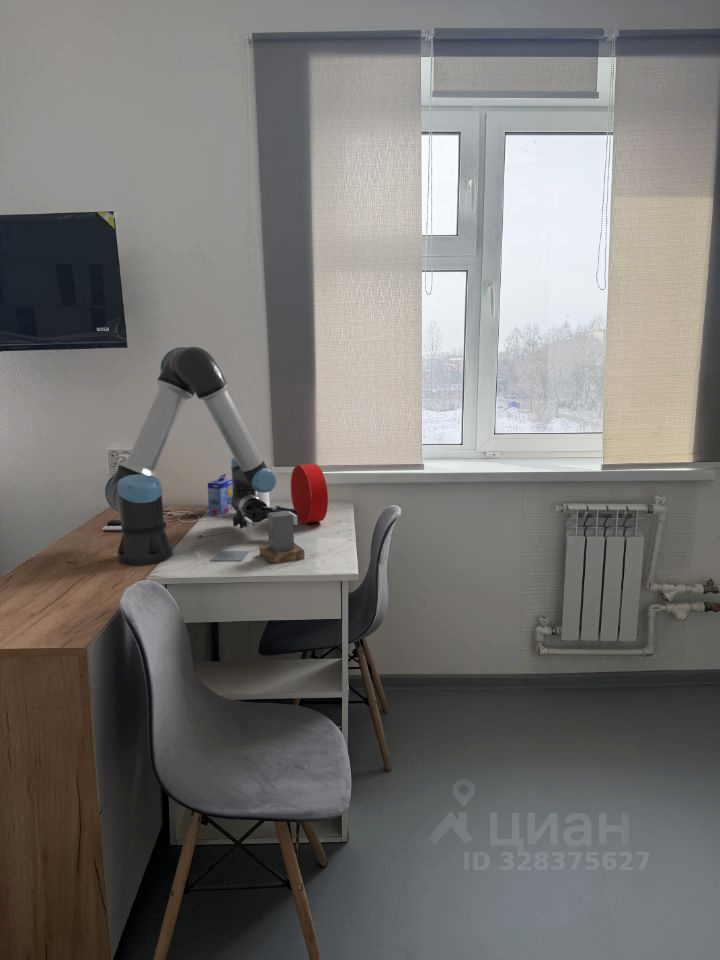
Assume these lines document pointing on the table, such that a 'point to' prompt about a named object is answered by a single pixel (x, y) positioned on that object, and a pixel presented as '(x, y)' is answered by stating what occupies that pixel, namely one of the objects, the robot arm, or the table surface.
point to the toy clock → (309, 493)
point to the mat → (230, 556)
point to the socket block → (281, 554)
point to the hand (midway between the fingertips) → (274, 523)
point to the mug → (263, 497)
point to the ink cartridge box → (220, 496)
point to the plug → (280, 531)
